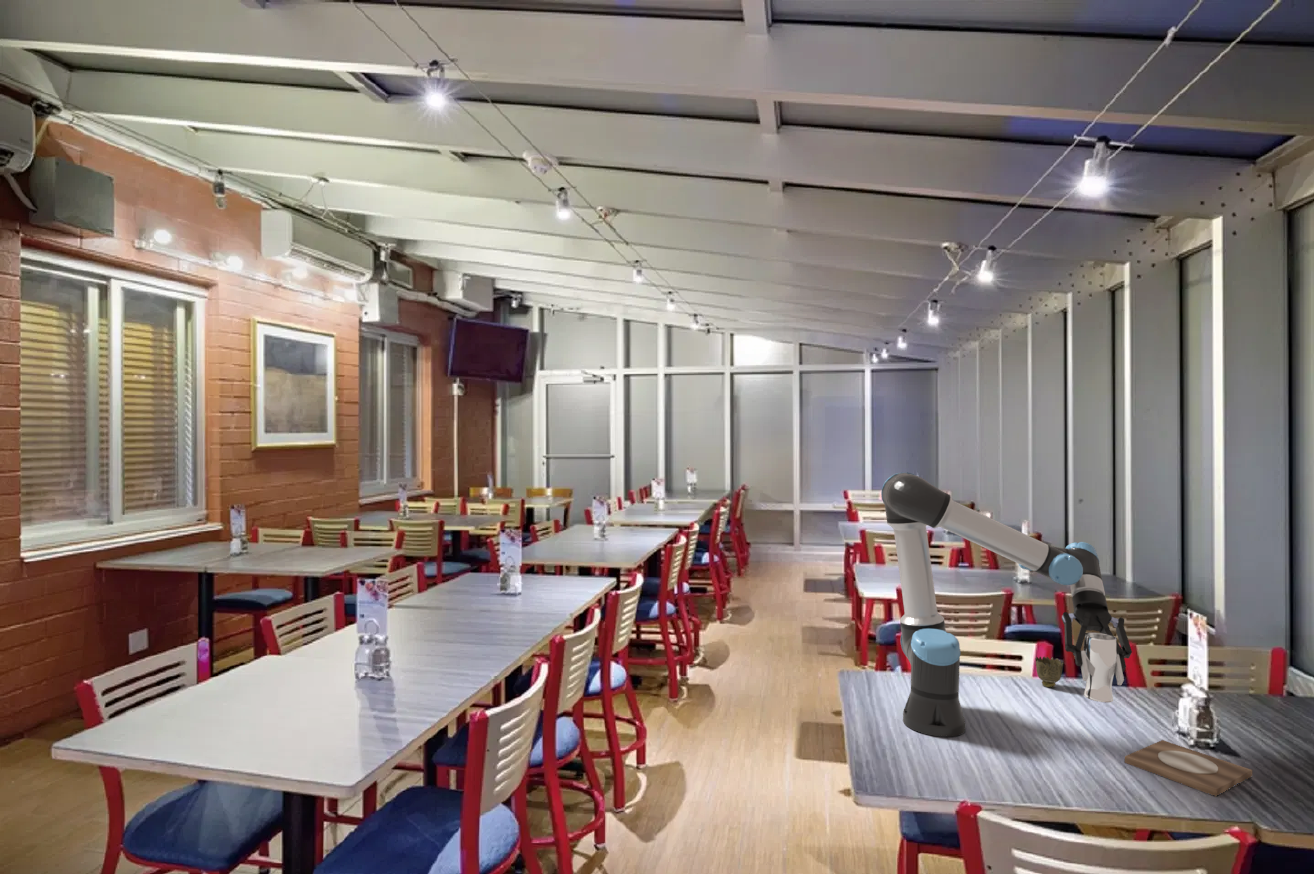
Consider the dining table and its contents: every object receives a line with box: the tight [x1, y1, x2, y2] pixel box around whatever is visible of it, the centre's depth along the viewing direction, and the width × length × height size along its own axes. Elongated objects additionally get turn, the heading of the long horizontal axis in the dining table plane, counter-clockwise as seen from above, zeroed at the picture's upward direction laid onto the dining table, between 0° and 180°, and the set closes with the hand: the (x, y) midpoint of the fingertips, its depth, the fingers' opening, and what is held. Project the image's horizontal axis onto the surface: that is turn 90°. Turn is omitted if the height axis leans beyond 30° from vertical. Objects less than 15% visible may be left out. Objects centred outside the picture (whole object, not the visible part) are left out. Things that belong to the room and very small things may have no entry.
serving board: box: [1124, 739, 1253, 797], centre depth 165 cm, size 18×18×2 cm
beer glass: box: [1082, 631, 1118, 704], centre depth 175 cm, size 7×7×15 cm
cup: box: [1034, 656, 1064, 689], centre depth 219 cm, size 8×7×8 cm
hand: (1103, 680), depth 172 cm, fingers closed on beer glass, 6 cm apart
